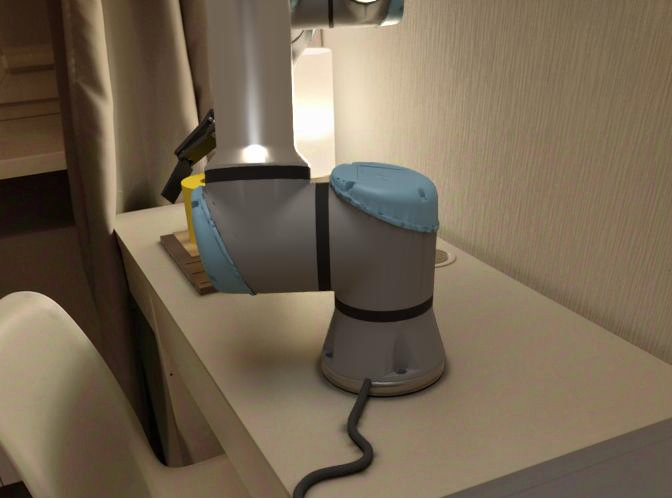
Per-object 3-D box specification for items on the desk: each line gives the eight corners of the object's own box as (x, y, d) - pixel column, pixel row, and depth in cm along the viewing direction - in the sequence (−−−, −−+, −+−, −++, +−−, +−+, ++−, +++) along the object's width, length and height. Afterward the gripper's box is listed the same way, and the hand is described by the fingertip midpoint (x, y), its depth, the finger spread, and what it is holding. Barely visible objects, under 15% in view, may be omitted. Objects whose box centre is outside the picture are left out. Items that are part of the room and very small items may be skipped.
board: (303, 273, 115) (303, 265, 114) (200, 295, 110) (199, 286, 110) (250, 225, 134) (249, 218, 134) (160, 242, 130) (159, 234, 129)
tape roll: (219, 222, 132) (212, 168, 126) (258, 233, 127) (253, 177, 121) (177, 239, 126) (168, 183, 121) (217, 250, 121) (209, 192, 115)
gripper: (315, 117, 112) (246, 238, 114) (225, 97, 128) (166, 204, 130) (286, 83, 106) (214, 212, 108) (195, 68, 122) (134, 180, 124)
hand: (188, 208), depth 119 cm, fingers open, 13 cm apart
